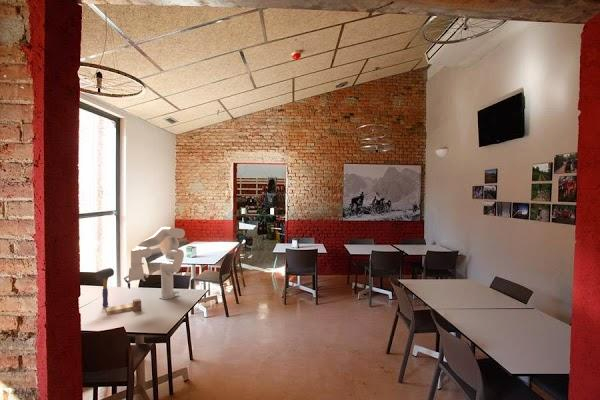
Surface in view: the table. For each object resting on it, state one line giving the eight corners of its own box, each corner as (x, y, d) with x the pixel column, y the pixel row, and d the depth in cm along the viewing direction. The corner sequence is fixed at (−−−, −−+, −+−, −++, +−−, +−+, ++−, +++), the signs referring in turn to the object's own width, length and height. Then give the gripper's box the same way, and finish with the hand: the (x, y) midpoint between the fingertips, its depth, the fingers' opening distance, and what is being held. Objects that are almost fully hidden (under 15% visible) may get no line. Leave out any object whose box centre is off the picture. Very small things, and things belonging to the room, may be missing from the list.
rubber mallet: (102, 309, 249) (102, 271, 248) (94, 308, 250) (94, 270, 250) (115, 304, 261) (114, 267, 260) (107, 303, 262) (107, 267, 262)
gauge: (137, 305, 258) (137, 295, 258) (141, 310, 247) (141, 300, 247) (131, 306, 255) (130, 296, 255) (134, 312, 244) (133, 301, 244)
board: (139, 304, 260) (138, 301, 260) (141, 308, 252) (141, 305, 252) (106, 310, 246) (106, 307, 246) (107, 314, 238) (107, 311, 238)
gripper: (147, 262, 254) (147, 284, 255) (122, 265, 244) (122, 287, 244) (149, 264, 248) (149, 286, 249) (124, 267, 238) (124, 290, 238)
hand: (136, 287), depth 247 cm, fingers open, 9 cm apart
